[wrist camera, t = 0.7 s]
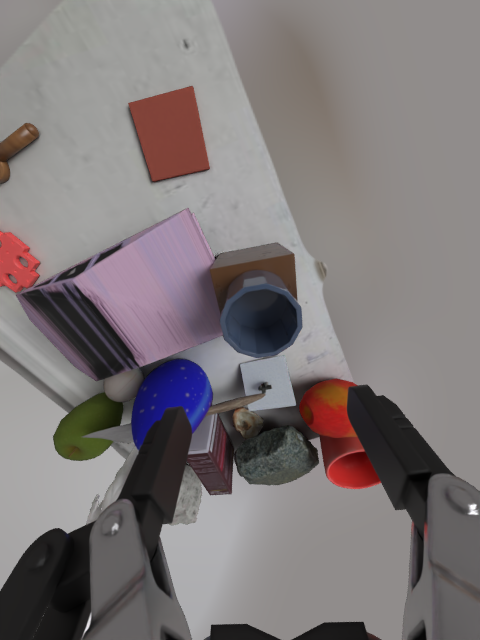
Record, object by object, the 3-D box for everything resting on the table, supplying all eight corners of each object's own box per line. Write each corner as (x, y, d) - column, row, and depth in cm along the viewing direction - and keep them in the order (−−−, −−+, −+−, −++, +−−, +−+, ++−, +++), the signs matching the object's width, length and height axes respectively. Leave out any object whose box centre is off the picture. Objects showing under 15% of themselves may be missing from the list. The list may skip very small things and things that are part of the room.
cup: (219, 276, 20) (212, 292, 15) (286, 263, 19) (299, 277, 15) (232, 333, 23) (229, 362, 18) (291, 324, 22) (303, 351, 17)
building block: (44, 264, 28) (-18, 215, 26) (18, 300, 31) (-40, 258, 28) (48, 263, 29) (-11, 215, 27) (23, 298, 32) (-34, 257, 29)
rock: (263, 465, 51) (317, 443, 48) (270, 497, 46) (330, 475, 43) (223, 444, 40) (289, 415, 38) (227, 482, 35) (302, 452, 33)
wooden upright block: (219, 253, 28) (209, 269, 20) (277, 242, 28) (294, 253, 19) (231, 306, 32) (226, 340, 23) (283, 297, 31) (299, 329, 22)
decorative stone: (113, 507, 40) (163, 533, 46) (146, 501, 37) (195, 530, 43) (139, 450, 49) (179, 478, 55) (168, 443, 46) (207, 473, 51)
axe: (79, 428, 28) (122, 433, 37) (77, 445, 27) (121, 446, 36) (288, 368, 30) (283, 386, 38) (293, 382, 29) (287, 397, 37)
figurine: (270, 373, 35) (268, 375, 33) (274, 391, 34) (272, 393, 32) (257, 376, 35) (254, 377, 34) (260, 393, 35) (257, 395, 33)
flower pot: (345, 444, 46) (369, 496, 37) (300, 430, 44) (314, 480, 35) (375, 411, 41) (410, 461, 33) (327, 394, 40) (350, 442, 31)
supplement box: (178, 452, 33) (209, 497, 41) (206, 449, 32) (233, 495, 40) (191, 406, 41) (215, 451, 48) (215, 403, 40) (235, 449, 47)
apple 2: (336, 446, 27) (400, 430, 31) (313, 376, 31) (372, 370, 35) (298, 445, 34) (353, 432, 38) (284, 389, 38) (335, 383, 42)
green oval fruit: (113, 416, 43) (72, 480, 32) (81, 390, 40) (24, 451, 29) (145, 401, 41) (112, 463, 30) (113, 372, 38) (64, 430, 27)
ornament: (169, 395, 40) (132, 485, 27) (143, 359, 36) (84, 442, 23) (222, 380, 38) (210, 468, 25) (199, 340, 34) (172, 418, 21)
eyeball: (114, 361, 38) (135, 383, 40) (86, 387, 32) (112, 411, 35) (137, 354, 35) (158, 378, 38) (110, 381, 30) (136, 408, 32)
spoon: (26, 109, 22) (15, 104, 21) (52, 148, 24) (43, 144, 23) (-31, 155, 24) (-44, 152, 23) (-4, 188, 25) (-15, 187, 24)
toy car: (48, 284, 31) (-34, 312, 22) (199, 208, 26) (177, 203, 17) (111, 359, 36) (68, 405, 27) (244, 308, 32) (244, 344, 23)
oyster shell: (232, 429, 36) (244, 402, 38) (217, 422, 38) (230, 396, 41) (258, 447, 42) (268, 422, 44) (244, 439, 44) (254, 416, 46)
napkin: (129, 104, 22) (127, 102, 22) (193, 87, 21) (192, 85, 21) (153, 182, 25) (152, 181, 25) (209, 169, 24) (209, 168, 24)
